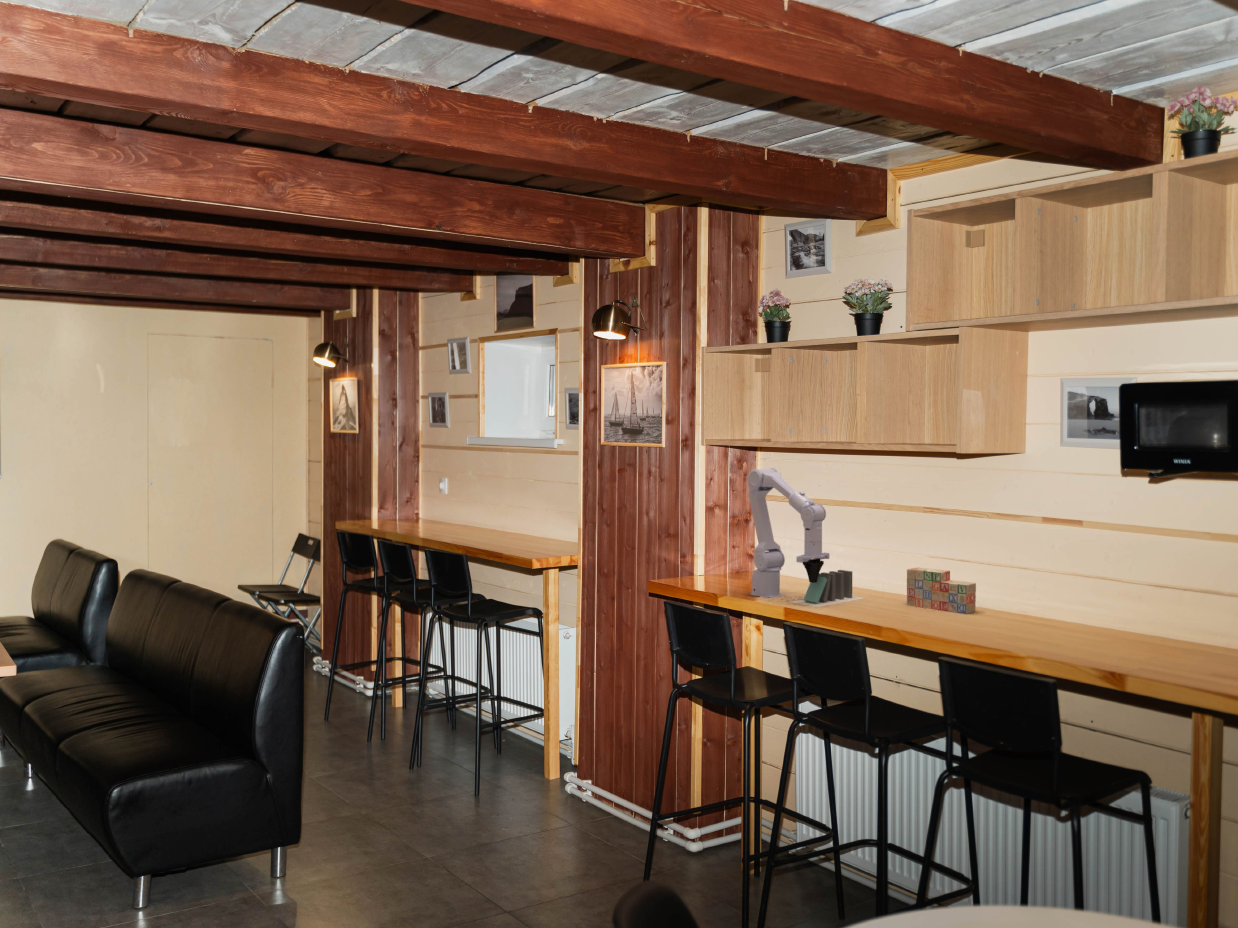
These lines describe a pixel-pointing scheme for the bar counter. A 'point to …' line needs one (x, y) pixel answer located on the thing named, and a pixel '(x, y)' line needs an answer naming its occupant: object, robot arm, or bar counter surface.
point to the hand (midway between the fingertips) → (813, 582)
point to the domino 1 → (815, 590)
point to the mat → (827, 601)
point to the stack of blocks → (939, 591)
